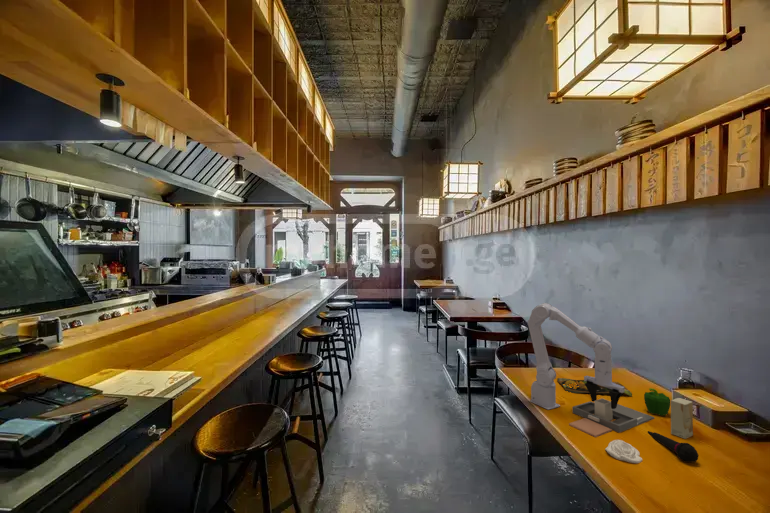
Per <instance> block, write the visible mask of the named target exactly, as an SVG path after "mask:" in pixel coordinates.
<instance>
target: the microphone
mask: <svg viewBox="0 0 770 513" xmlns="http://www.w3.org/2000/svg"><path fill="white" fill-rule="evenodd" d="M647 433H648V434H649V435H650V436H651V437H652V438H653V439H655V441H658V442H659V443H661V444H662V445H663V446H665V447H667V448H668V449H670V450H671V451H673V452H675V453H676V455H677V458H678V459H680V460H681V461H682V462H684V461H685V462H686V463H696V462H697V461H698V459H699V453H698V451H697V450H696V448H695V447H694V446H693V445H691V444H690V443H688V442H678V441H677V440H674V439H672V438H669V437H667V436H665V435H663V434H660V433H658V432H654V431H653V432H652V431H650V430H648V431H647Z"/></svg>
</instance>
